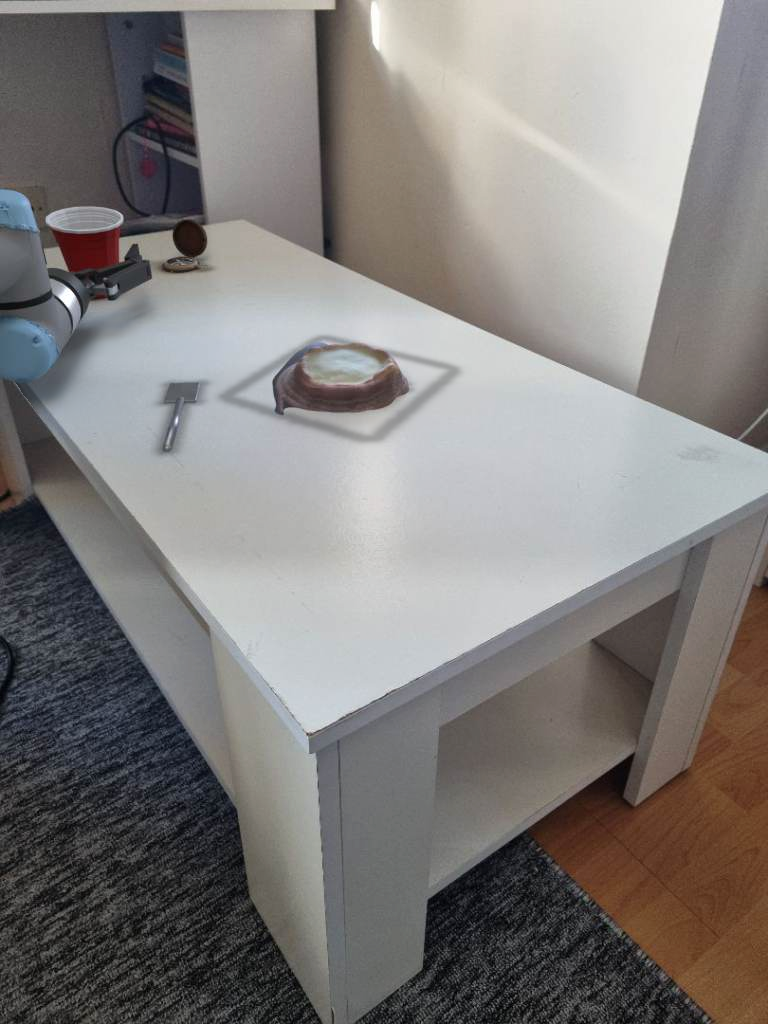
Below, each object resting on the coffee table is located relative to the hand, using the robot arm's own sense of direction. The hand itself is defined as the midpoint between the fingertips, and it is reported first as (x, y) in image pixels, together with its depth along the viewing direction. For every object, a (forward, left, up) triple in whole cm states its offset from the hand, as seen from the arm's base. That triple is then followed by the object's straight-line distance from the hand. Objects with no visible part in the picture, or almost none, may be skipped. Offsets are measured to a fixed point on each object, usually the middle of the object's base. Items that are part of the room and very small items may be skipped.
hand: (89, 253), depth 118 cm
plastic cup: (0, +2, -7) cm, 7 cm away
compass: (+12, +14, -7) cm, 20 cm away
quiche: (+36, -32, -7) cm, 49 cm away
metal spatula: (+17, -39, -7) cm, 43 cm away
